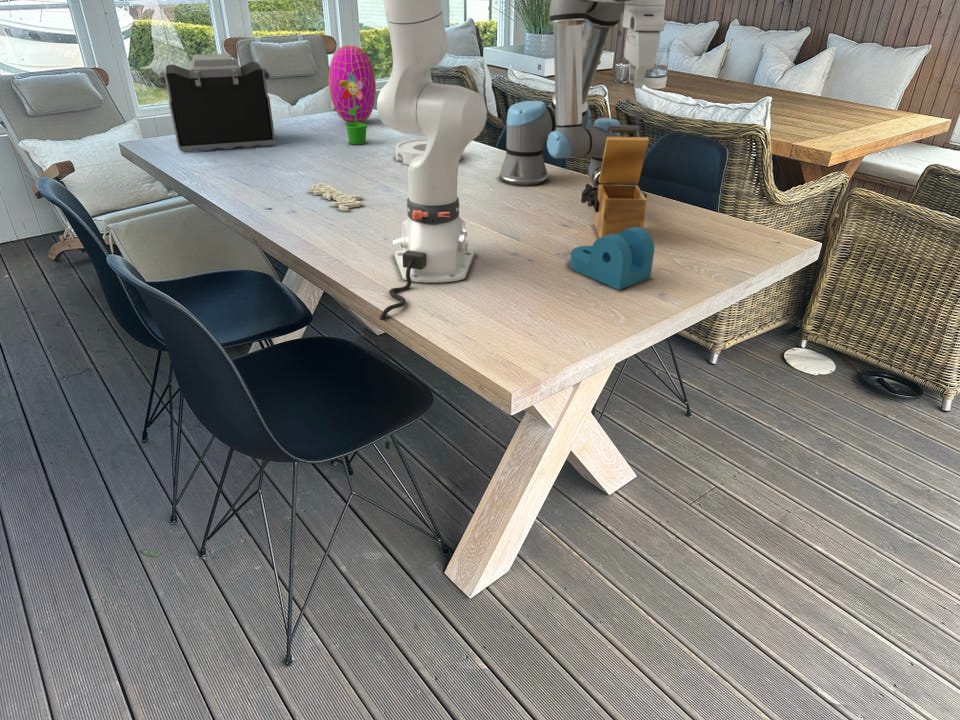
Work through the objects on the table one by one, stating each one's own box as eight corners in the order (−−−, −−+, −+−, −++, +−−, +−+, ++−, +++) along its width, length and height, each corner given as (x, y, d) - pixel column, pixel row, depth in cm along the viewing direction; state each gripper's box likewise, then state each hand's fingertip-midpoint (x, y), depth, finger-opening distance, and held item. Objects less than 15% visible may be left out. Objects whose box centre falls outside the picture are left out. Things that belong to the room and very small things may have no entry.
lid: (649, 140, 167) (645, 118, 172) (607, 139, 167) (604, 117, 172) (638, 184, 178) (634, 162, 183) (599, 183, 178) (596, 161, 183)
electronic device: (273, 133, 274) (261, 51, 258) (280, 146, 256) (268, 58, 241) (174, 140, 262) (156, 54, 247) (174, 153, 244) (155, 62, 229)
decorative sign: (374, 202, 196) (343, 208, 191) (374, 205, 197) (343, 211, 191) (331, 180, 214) (301, 186, 209) (332, 183, 215) (302, 189, 209)
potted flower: (342, 144, 260) (336, 73, 247) (351, 139, 266) (346, 70, 254) (365, 146, 257) (360, 74, 245) (374, 141, 264) (369, 71, 251)
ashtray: (454, 167, 232) (454, 155, 230) (388, 164, 235) (387, 152, 233) (466, 151, 252) (466, 140, 250) (404, 148, 255) (404, 137, 253)
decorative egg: (362, 116, 305) (357, 42, 290) (386, 123, 292) (382, 46, 277) (324, 121, 294) (316, 45, 279) (347, 129, 281) (340, 49, 266)
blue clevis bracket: (650, 277, 154) (656, 233, 149) (619, 289, 148) (624, 243, 143) (591, 254, 166) (595, 212, 161) (560, 264, 160) (563, 221, 155)
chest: (641, 243, 173) (646, 199, 168) (600, 242, 174) (605, 199, 168) (632, 226, 185) (637, 184, 179) (594, 225, 185) (598, 184, 179)
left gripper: (621, 15, 161) (615, 78, 168) (636, 22, 144) (628, 92, 151) (648, 15, 161) (641, 78, 168) (666, 23, 144) (657, 93, 151)
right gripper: (644, 196, 199) (660, 222, 179) (566, 195, 199) (573, 220, 180) (648, 170, 195) (664, 194, 176) (568, 169, 195) (575, 192, 176)
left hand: (635, 85), depth 159 cm, fingers open, 6 cm apart
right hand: (618, 207), depth 178 cm, fingers closed on chest, 10 cm apart
